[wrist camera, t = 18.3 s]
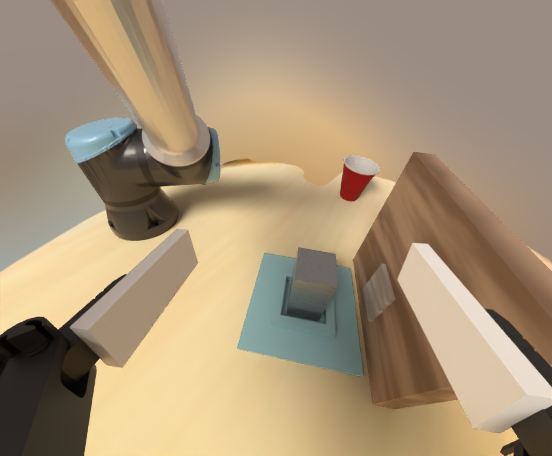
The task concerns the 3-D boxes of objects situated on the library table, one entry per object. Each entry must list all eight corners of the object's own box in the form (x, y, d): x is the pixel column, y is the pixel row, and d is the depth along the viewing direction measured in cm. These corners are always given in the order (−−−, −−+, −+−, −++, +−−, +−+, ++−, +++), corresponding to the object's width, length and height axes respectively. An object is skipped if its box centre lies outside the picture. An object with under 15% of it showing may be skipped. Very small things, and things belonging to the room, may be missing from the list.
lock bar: (285, 314, 36) (294, 279, 28) (290, 285, 40) (298, 247, 32) (318, 321, 35) (337, 287, 27) (319, 291, 40) (335, 254, 31)
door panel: (368, 403, 28) (569, 353, 10) (350, 259, 47) (409, 151, 29) (394, 409, 28) (650, 369, 10) (366, 262, 46) (435, 154, 28)
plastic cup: (356, 210, 60) (372, 175, 52) (326, 196, 65) (337, 161, 57) (370, 197, 67) (387, 163, 58) (342, 184, 71) (353, 151, 63)
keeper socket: (237, 348, 32) (236, 345, 30) (264, 253, 46) (264, 248, 45) (362, 377, 30) (367, 374, 29) (350, 269, 44) (352, 264, 43)
